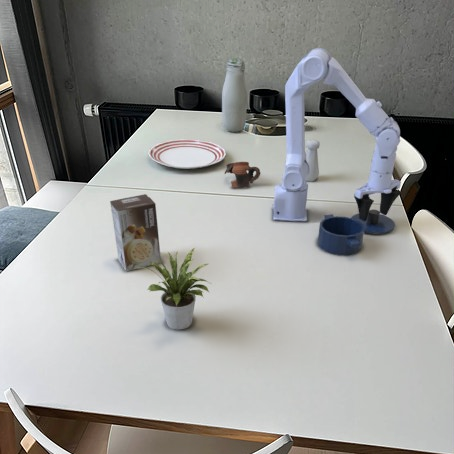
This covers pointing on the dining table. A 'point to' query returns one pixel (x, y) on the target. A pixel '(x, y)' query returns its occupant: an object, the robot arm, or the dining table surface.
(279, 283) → the dining table surface
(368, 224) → the lid
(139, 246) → the cracker box
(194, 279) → the house plant
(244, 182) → the pottery mug
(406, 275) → the dining table surface
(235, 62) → the glass bottle
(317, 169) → the salt shaker
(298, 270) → the dining table surface
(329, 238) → the pot
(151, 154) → the dinner plate
